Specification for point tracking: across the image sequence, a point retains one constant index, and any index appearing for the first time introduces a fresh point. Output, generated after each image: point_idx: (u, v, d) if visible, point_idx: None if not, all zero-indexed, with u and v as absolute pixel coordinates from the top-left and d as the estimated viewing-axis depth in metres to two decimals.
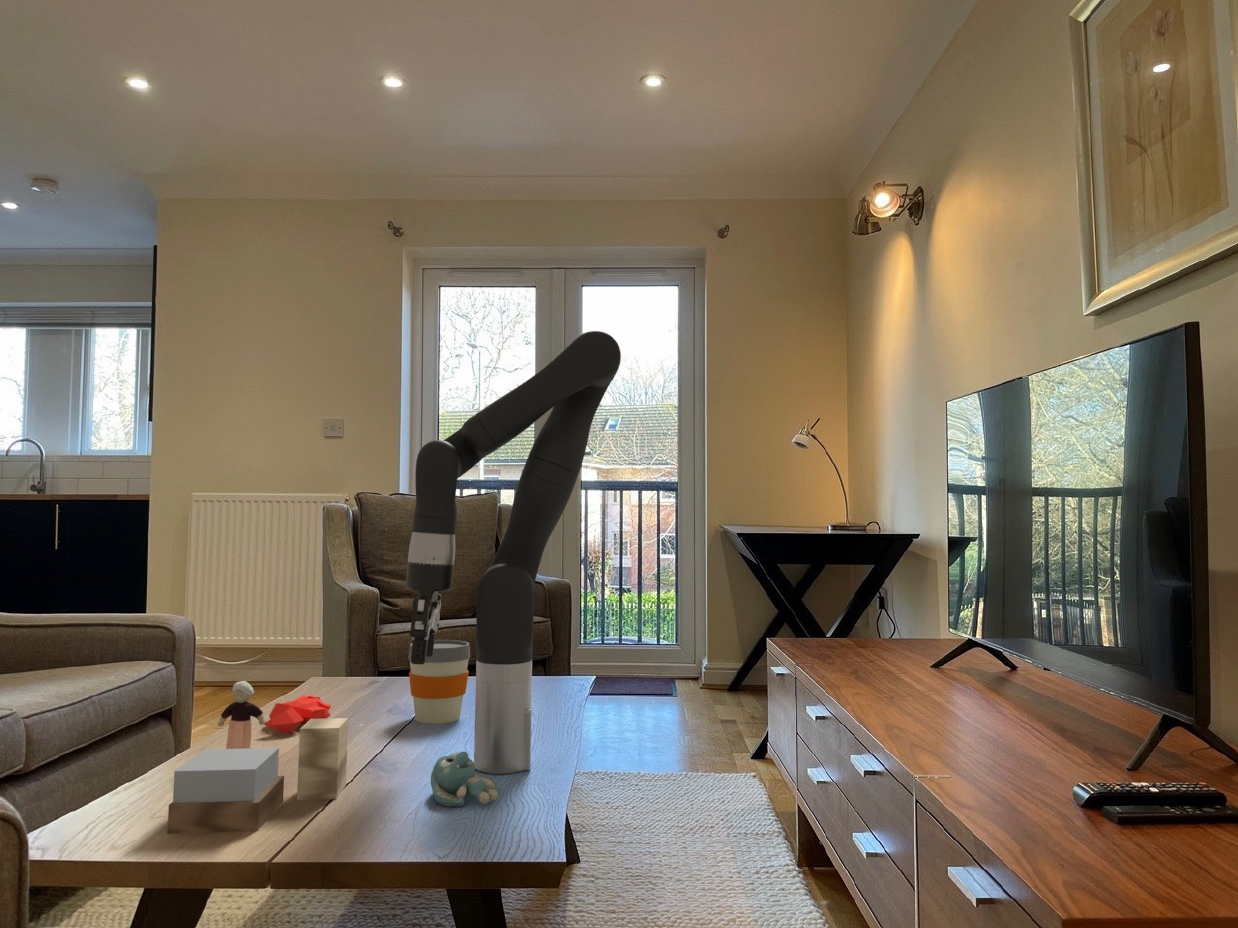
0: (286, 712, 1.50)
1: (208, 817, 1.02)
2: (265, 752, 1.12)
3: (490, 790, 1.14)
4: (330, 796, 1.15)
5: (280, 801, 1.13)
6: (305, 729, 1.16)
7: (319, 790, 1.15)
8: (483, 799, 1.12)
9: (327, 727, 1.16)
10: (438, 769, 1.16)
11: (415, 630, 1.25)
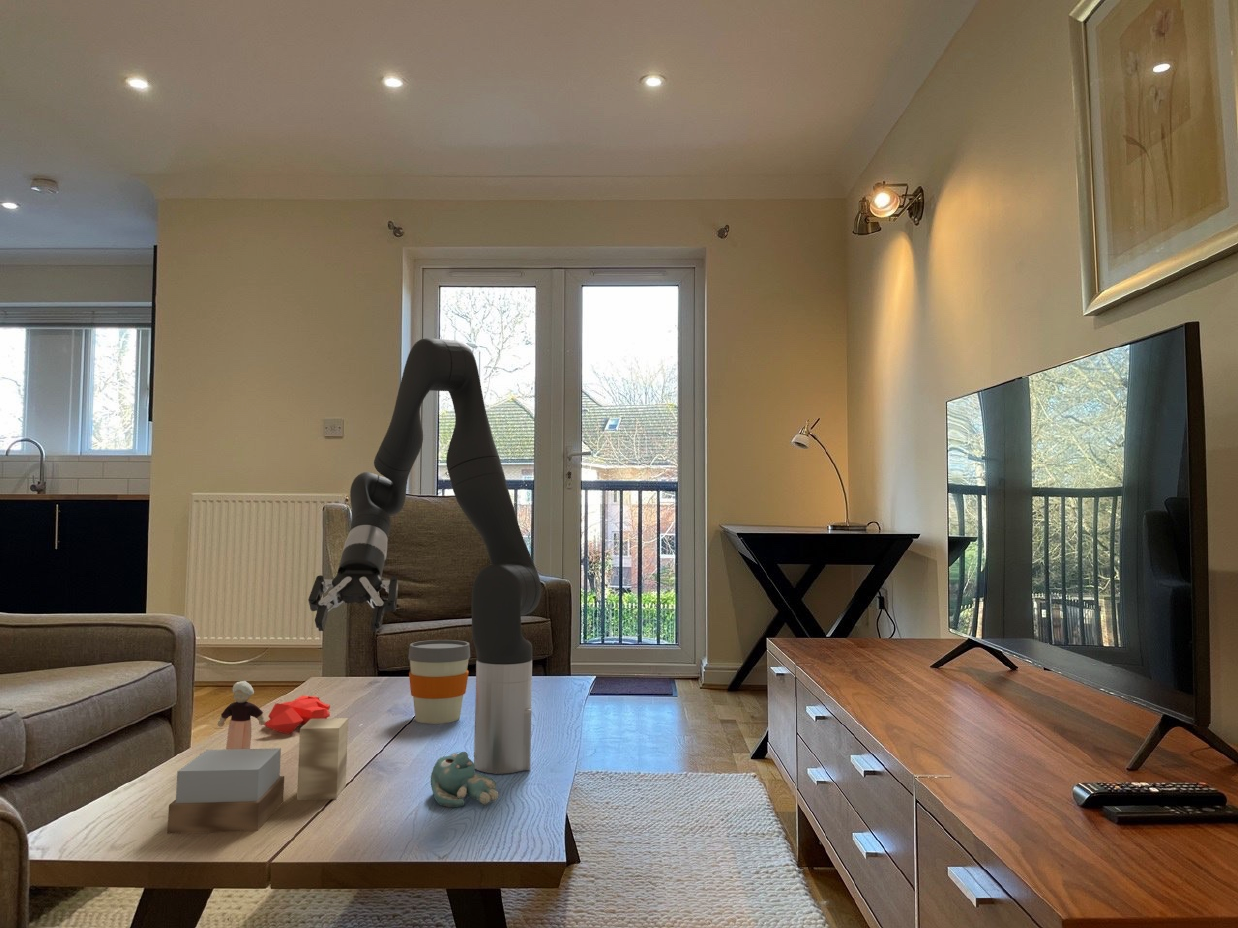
0: (286, 712, 1.50)
1: (208, 817, 1.02)
2: (267, 752, 1.12)
3: (490, 790, 1.14)
4: (330, 796, 1.15)
5: (280, 801, 1.13)
6: (305, 729, 1.16)
7: (319, 790, 1.15)
8: (483, 799, 1.12)
9: (327, 727, 1.16)
10: (438, 769, 1.16)
11: None
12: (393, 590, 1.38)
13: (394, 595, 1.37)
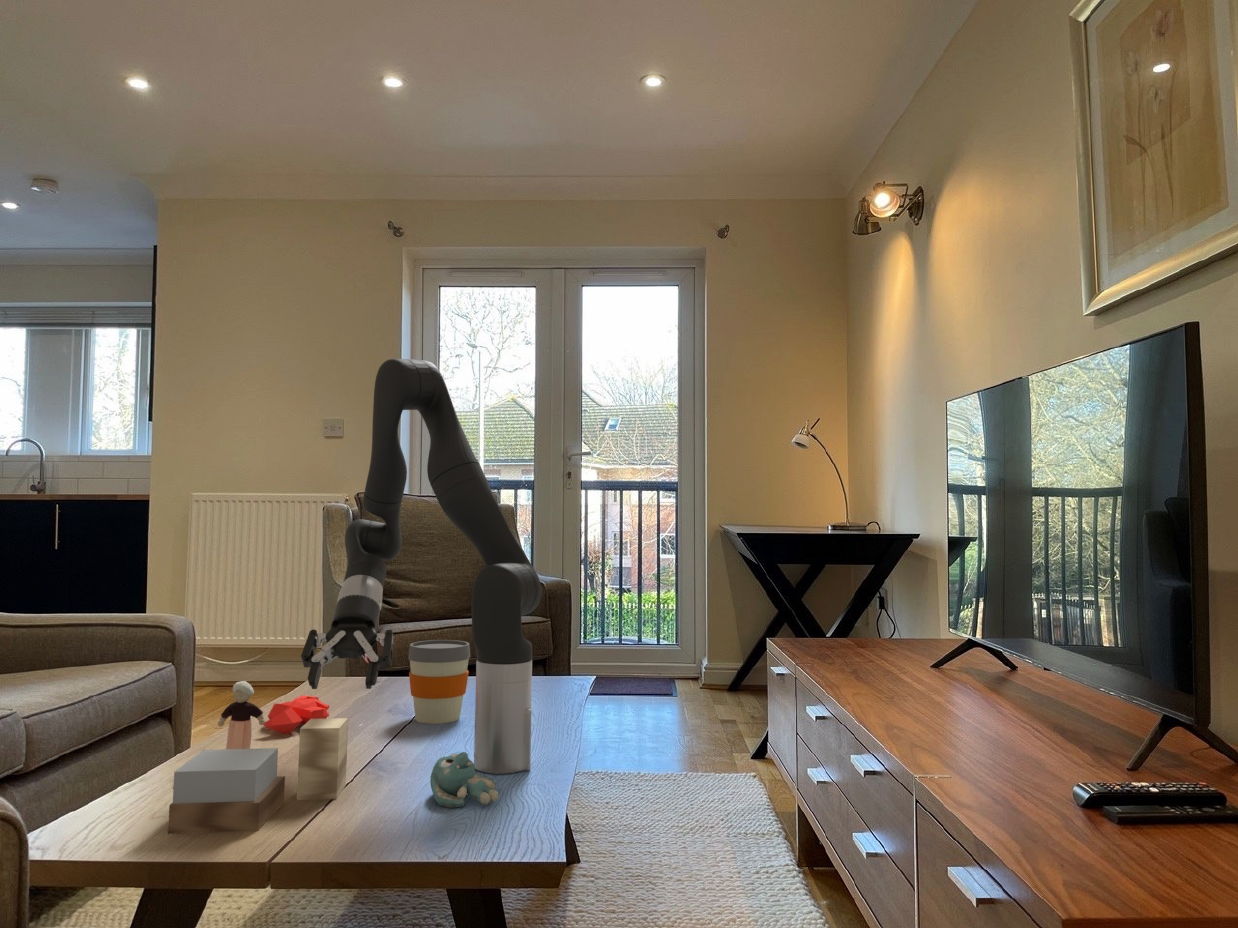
0: (285, 712, 1.50)
1: (208, 817, 1.02)
2: (264, 752, 1.12)
3: (491, 791, 1.14)
4: (330, 796, 1.15)
5: (281, 801, 1.13)
6: (305, 729, 1.16)
7: (319, 790, 1.15)
8: (484, 800, 1.12)
9: (327, 727, 1.16)
10: (438, 770, 1.16)
11: None
12: (388, 644, 1.34)
13: (389, 650, 1.34)
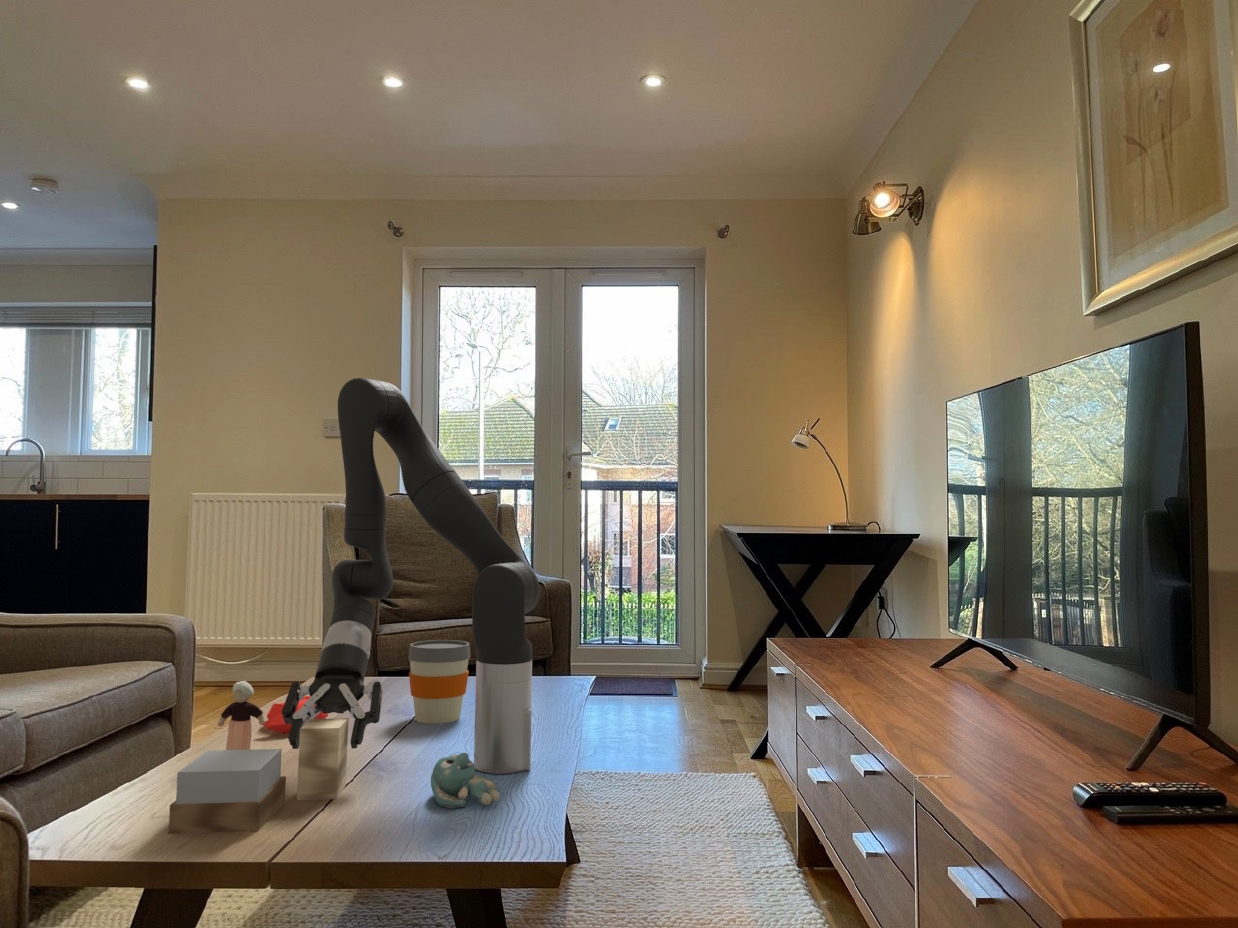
0: None
1: (209, 817, 1.02)
2: (268, 753, 1.11)
3: (492, 791, 1.13)
4: (330, 796, 1.15)
5: (282, 802, 1.13)
6: (305, 729, 1.16)
7: (319, 790, 1.15)
8: (485, 800, 1.12)
9: (327, 727, 1.16)
10: (438, 771, 1.15)
11: None
12: (376, 698, 1.25)
13: (377, 705, 1.24)
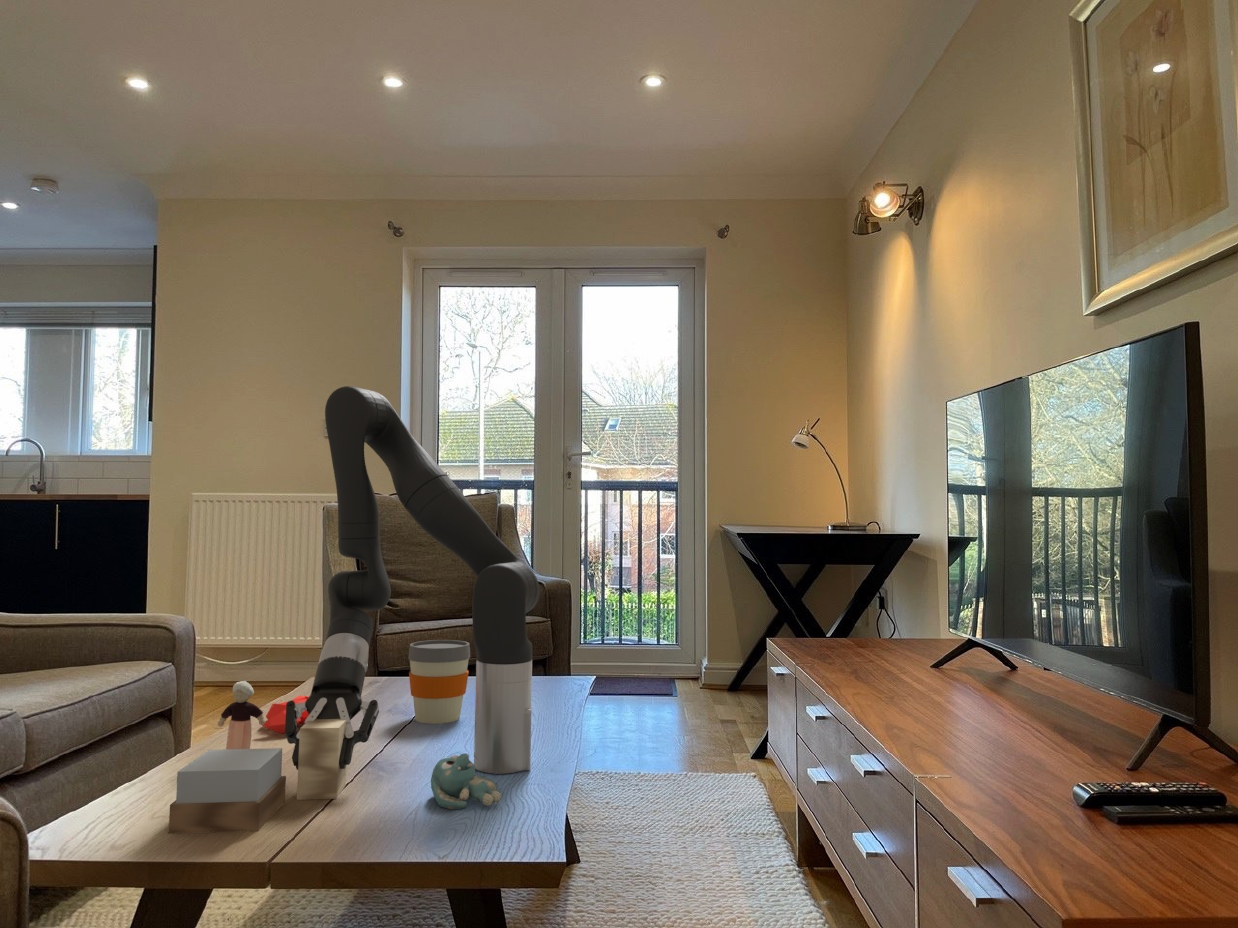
0: (283, 712, 1.50)
1: (209, 817, 1.02)
2: (268, 752, 1.11)
3: (493, 792, 1.13)
4: (330, 796, 1.15)
5: (282, 801, 1.13)
6: (305, 729, 1.16)
7: (319, 789, 1.15)
8: (487, 801, 1.11)
9: (327, 727, 1.16)
10: (439, 772, 1.15)
11: None
12: (368, 717, 1.22)
13: (367, 724, 1.21)
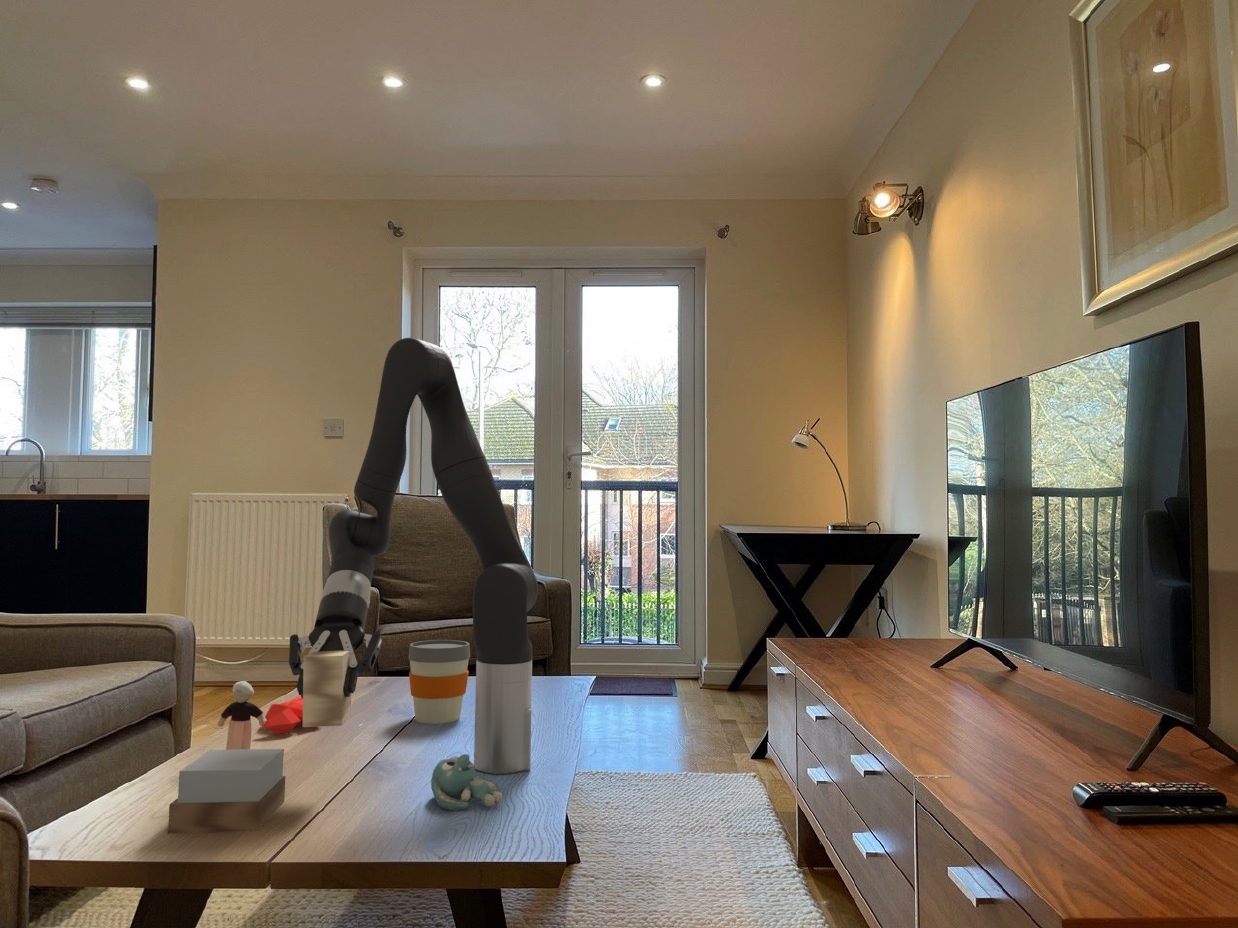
0: (283, 713, 1.49)
1: (208, 816, 1.02)
2: (270, 753, 1.12)
3: (494, 792, 1.13)
4: (335, 723, 1.16)
5: (281, 801, 1.13)
6: (309, 657, 1.17)
7: (324, 717, 1.16)
8: (489, 801, 1.11)
9: (330, 655, 1.17)
10: (439, 773, 1.14)
11: None
12: (371, 648, 1.23)
13: (371, 654, 1.22)
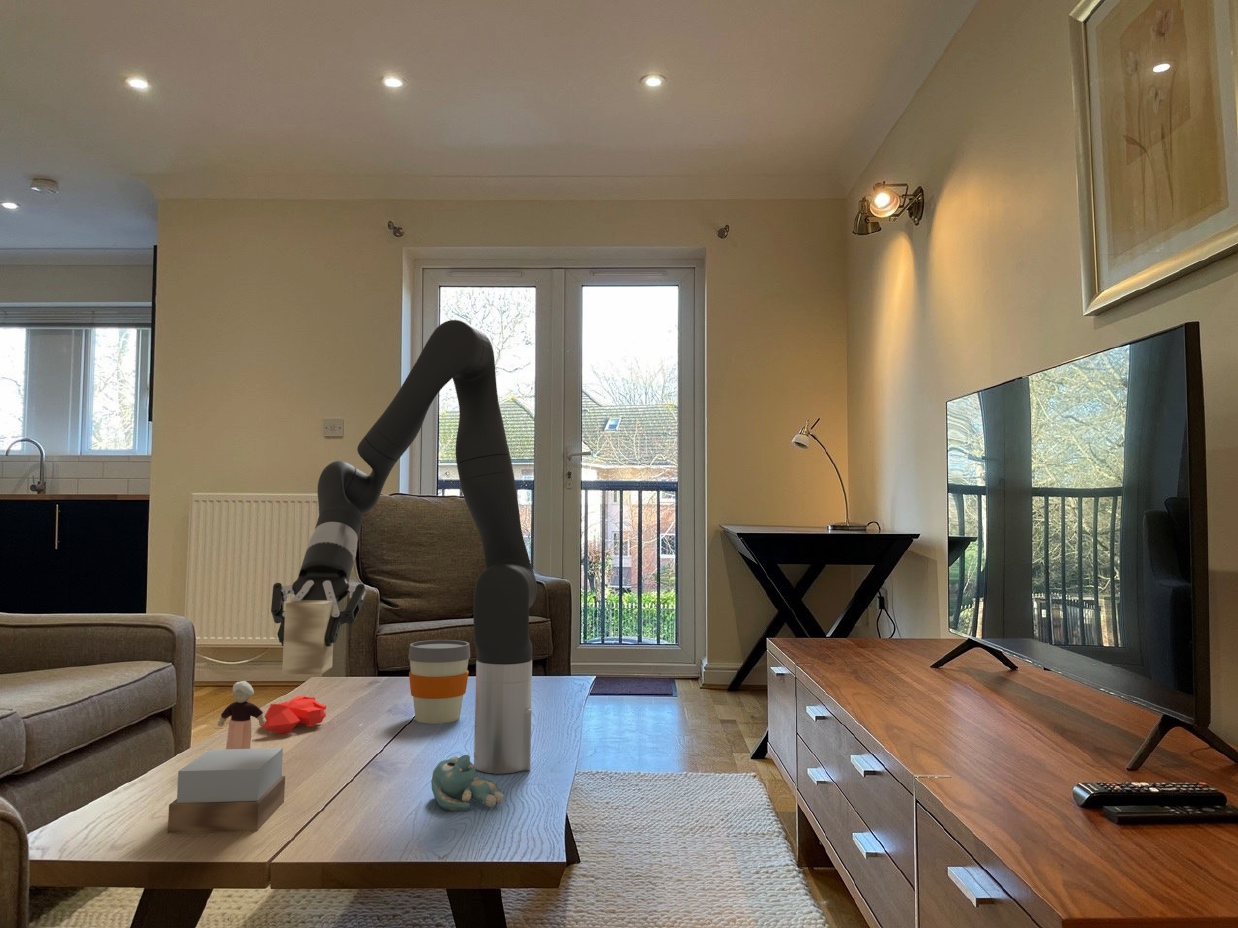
0: (282, 713, 1.49)
1: (208, 817, 1.02)
2: (269, 752, 1.12)
3: (495, 793, 1.13)
4: (315, 671, 1.15)
5: (281, 801, 1.13)
6: (291, 604, 1.15)
7: (304, 664, 1.15)
8: (490, 802, 1.11)
9: (313, 603, 1.16)
10: (440, 773, 1.14)
11: None
12: (355, 599, 1.21)
13: (354, 605, 1.21)
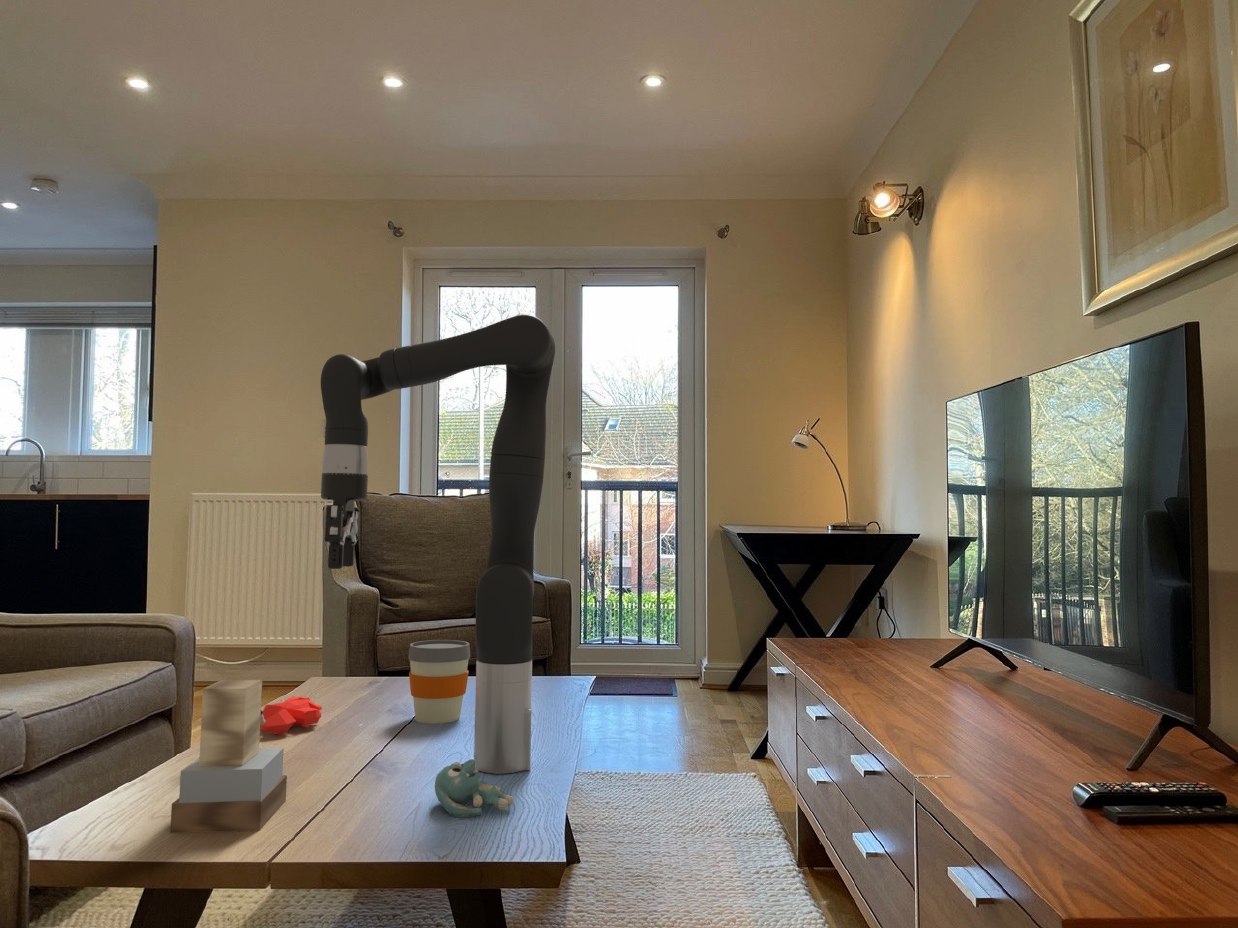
0: (279, 713, 1.49)
1: (211, 816, 1.03)
2: (270, 752, 1.12)
3: (506, 796, 1.11)
4: (235, 763, 1.05)
5: (283, 800, 1.13)
6: (209, 689, 1.06)
7: (223, 755, 1.05)
8: (503, 806, 1.09)
9: (233, 687, 1.06)
10: (446, 780, 1.11)
11: (330, 535, 1.30)
12: (358, 524, 1.43)
13: (358, 531, 1.44)
